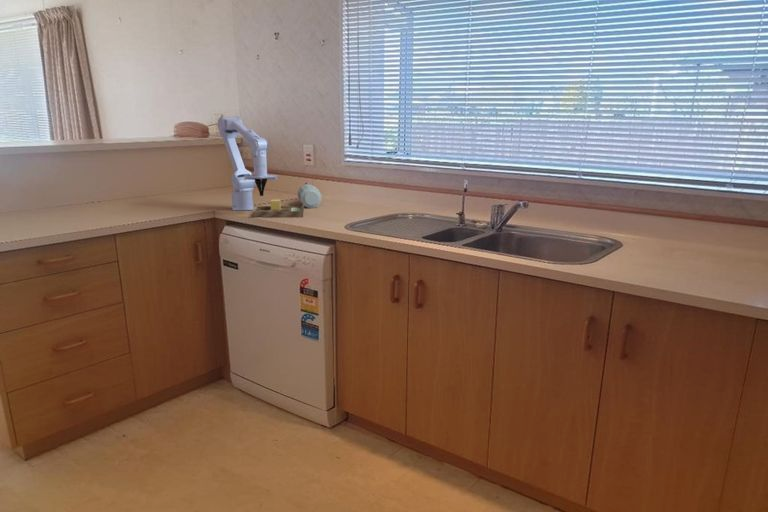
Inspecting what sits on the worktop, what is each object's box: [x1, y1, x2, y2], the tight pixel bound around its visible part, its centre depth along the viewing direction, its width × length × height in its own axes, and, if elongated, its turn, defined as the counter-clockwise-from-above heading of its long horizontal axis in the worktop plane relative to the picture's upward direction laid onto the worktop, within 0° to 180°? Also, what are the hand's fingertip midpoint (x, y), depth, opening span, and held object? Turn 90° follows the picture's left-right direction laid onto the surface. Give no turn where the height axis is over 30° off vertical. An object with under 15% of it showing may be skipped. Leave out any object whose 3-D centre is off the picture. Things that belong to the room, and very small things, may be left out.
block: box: [270, 199, 282, 210], centre depth 249 cm, size 4×4×4 cm
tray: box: [253, 203, 305, 218], centre depth 247 cm, size 22×13×4 cm, turn 96°
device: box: [297, 182, 322, 209], centre depth 275 cm, size 31×10×10 cm, turn 16°
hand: (261, 195), depth 247 cm, fingers closed
